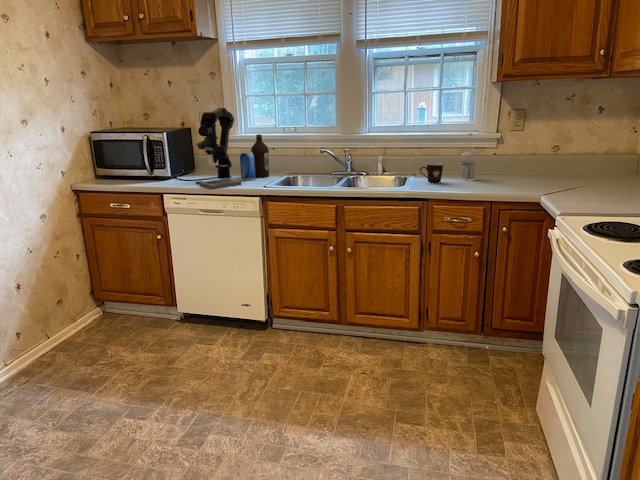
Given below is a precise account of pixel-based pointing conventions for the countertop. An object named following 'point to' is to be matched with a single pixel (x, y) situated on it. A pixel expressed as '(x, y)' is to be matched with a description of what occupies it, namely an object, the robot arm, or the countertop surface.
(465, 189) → the countertop surface
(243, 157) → the beer can
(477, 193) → the countertop surface
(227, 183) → the outlet plate
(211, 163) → the block
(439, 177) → the coffee mug
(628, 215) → the countertop surface
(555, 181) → the countertop surface
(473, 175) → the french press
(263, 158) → the olive oil
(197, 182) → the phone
